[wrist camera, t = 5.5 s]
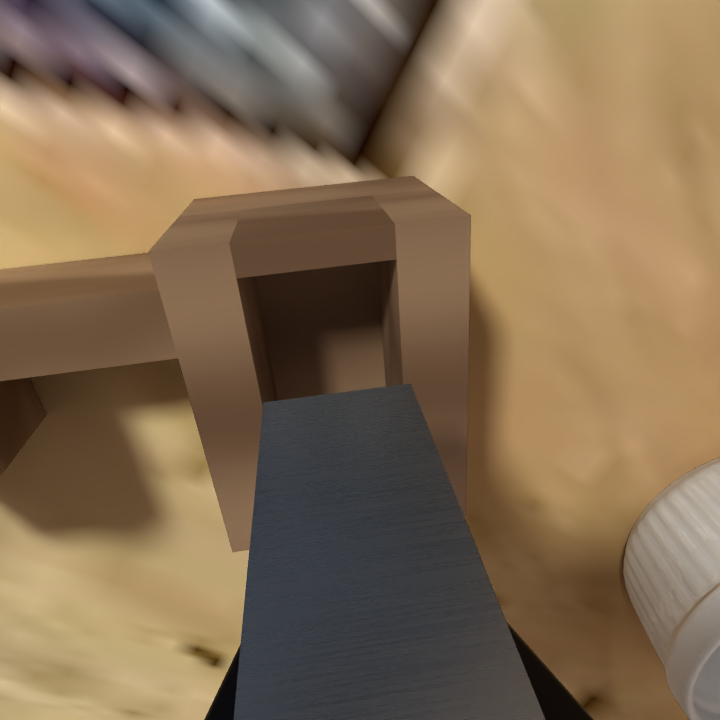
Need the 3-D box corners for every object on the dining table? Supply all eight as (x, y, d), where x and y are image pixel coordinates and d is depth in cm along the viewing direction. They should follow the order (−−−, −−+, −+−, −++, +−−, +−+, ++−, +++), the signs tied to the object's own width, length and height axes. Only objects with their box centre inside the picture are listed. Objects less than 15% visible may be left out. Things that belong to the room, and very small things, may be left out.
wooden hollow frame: (421, 408, 21) (497, 592, 13) (-71, 477, 20) (-302, 724, 12) (413, 176, 17) (518, 248, 9) (-214, 243, 15) (-712, 394, 8)
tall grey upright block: (420, 619, 11) (532, 1088, 6) (310, 637, 11) (326, 1134, 6) (410, 383, 8) (609, 877, 3) (263, 402, 8) (212, 953, 3)
